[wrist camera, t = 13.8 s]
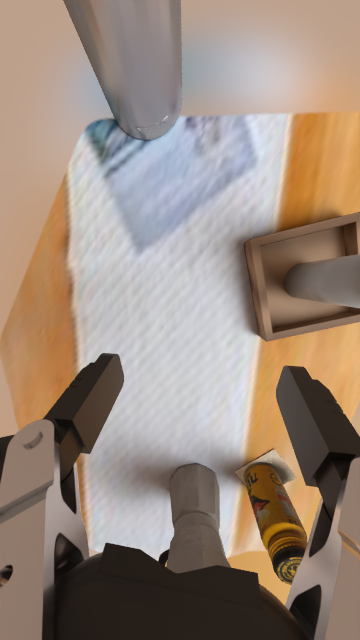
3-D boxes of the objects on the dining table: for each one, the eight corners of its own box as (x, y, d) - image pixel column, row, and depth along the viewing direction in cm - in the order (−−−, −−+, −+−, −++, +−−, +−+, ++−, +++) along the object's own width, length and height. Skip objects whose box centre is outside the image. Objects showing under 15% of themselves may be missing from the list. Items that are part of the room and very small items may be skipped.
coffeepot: (207, 447, 34) (229, 623, 17) (238, 482, 36) (289, 679, 18) (142, 489, 37) (102, 683, 19) (173, 520, 38) (163, 729, 20)
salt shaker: (282, 267, 27) (369, 255, 14) (318, 258, 27) (441, 238, 14) (286, 302, 28) (372, 320, 15) (321, 294, 28) (440, 305, 15)
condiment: (233, 471, 35) (258, 566, 24) (273, 448, 34) (320, 536, 22) (256, 497, 36) (289, 600, 25) (295, 475, 35) (351, 573, 23)
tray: (243, 243, 27) (250, 239, 25) (345, 217, 26) (364, 210, 24) (259, 336, 30) (266, 341, 27) (352, 315, 29) (369, 319, 26)
